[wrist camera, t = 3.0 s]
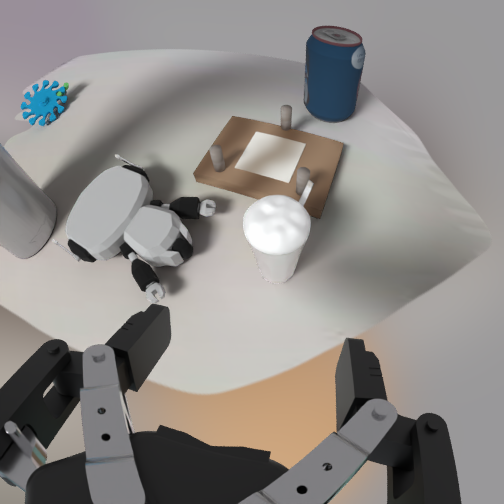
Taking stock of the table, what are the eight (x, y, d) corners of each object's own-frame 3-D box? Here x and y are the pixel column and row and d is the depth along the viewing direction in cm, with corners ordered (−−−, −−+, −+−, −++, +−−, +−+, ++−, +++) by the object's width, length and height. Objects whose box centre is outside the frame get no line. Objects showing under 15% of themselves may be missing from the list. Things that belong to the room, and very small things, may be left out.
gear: (32, 133, 39) (13, 97, 36) (36, 142, 44) (17, 108, 41) (79, 101, 44) (59, 67, 40) (79, 112, 49) (60, 80, 45)
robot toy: (226, 215, 31) (123, 171, 34) (222, 190, 27) (110, 148, 30) (166, 318, 27) (66, 252, 30) (150, 308, 23) (45, 236, 26)
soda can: (363, 117, 35) (380, 43, 24) (324, 132, 34) (334, 49, 23) (331, 91, 38) (339, 21, 27) (293, 103, 37) (294, 27, 26)
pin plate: (196, 181, 32) (186, 154, 28) (235, 121, 36) (231, 94, 32) (319, 218, 29) (325, 192, 25) (342, 148, 33) (348, 121, 29)
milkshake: (317, 264, 27) (337, 203, 18) (274, 301, 26) (273, 255, 17) (285, 231, 29) (288, 162, 20) (241, 265, 28) (225, 205, 19)
